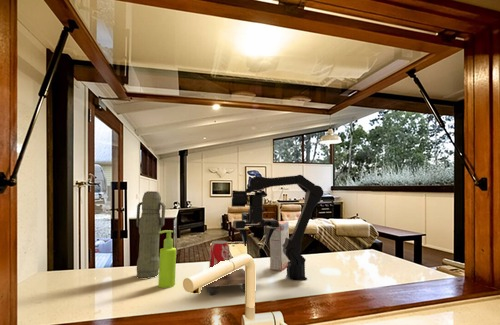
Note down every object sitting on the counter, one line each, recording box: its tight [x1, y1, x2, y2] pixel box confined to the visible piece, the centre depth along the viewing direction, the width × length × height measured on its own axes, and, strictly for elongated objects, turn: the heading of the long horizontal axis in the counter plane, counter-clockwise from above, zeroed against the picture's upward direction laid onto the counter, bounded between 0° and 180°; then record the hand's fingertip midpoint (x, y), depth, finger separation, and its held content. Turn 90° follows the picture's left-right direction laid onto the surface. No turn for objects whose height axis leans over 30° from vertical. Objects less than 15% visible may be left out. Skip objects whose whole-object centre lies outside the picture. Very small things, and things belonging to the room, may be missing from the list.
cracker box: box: [269, 220, 290, 272], centre depth 130 cm, size 14×6×21 cm, turn 157°
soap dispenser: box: [157, 229, 177, 289], centre depth 101 cm, size 6×7×20 cm
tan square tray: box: [205, 268, 246, 296], centre depth 98 cm, size 16×14×4 cm
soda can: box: [209, 240, 230, 278], centre depth 97 cm, size 7×7×12 cm
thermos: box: [135, 190, 166, 279], centre depth 116 cm, size 9×12×35 cm
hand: (256, 245), depth 111 cm, fingers open, 9 cm apart
